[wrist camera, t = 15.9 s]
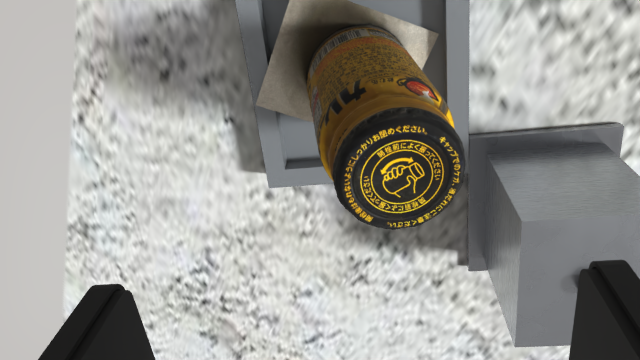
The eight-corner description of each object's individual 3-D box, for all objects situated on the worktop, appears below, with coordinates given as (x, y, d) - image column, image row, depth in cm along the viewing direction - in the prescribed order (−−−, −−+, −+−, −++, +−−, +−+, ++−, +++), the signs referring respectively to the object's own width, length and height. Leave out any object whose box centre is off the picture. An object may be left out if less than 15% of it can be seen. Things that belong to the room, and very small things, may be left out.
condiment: (386, 143, 33) (439, 265, 23) (255, 103, 31) (248, 217, 21) (438, 32, 30) (527, 115, 19) (295, -20, 28) (310, 40, 17)
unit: (467, 135, 33) (505, 213, 24) (619, 123, 32) (715, 199, 23) (467, 266, 38) (498, 372, 29) (601, 259, 36) (675, 367, 28)
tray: (236, -41, 30) (228, -38, 28) (462, -69, 28) (469, -68, 26) (273, 174, 35) (268, 188, 34) (463, 160, 34) (468, 173, 32)
